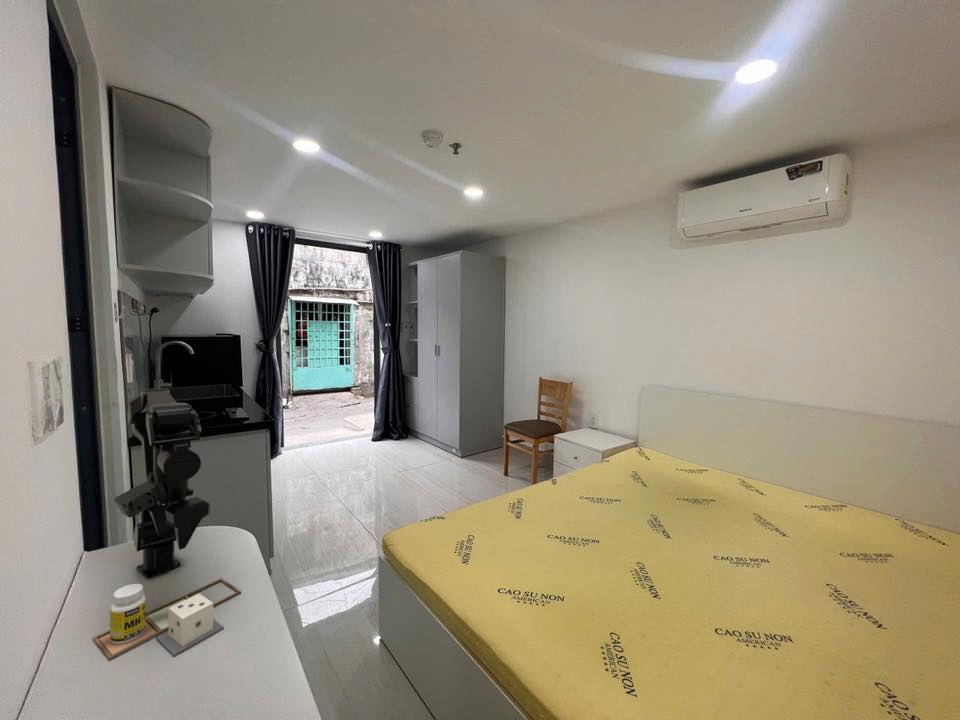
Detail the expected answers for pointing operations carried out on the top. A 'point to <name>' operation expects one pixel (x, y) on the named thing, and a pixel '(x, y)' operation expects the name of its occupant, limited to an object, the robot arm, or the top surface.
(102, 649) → the tray
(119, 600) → the supplement bottle
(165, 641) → the mat
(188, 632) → the die
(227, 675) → the top surface
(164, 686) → the top surface
